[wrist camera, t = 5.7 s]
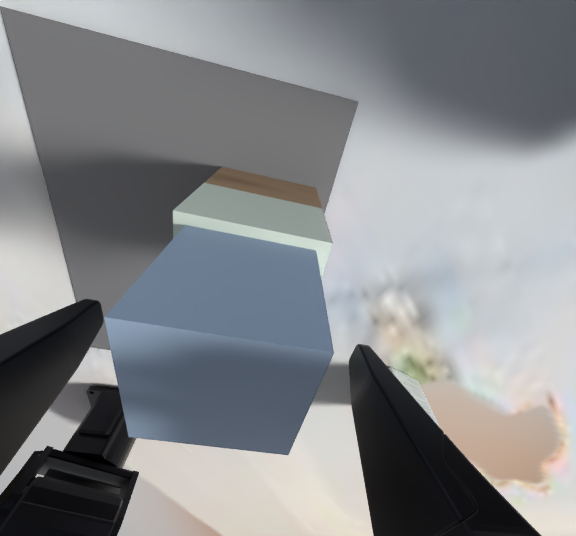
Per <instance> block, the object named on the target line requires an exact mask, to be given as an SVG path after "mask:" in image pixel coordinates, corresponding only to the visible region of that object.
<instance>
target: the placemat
mask: <svg viewBox="0 0 576 536" xmlns="http://www.w3.org/2000/svg"><path fill="white" fill-rule="evenodd" d="M0 8H1V12H2V15H3V19H4V23H5V27H6V31H7V35H8V39H9V42H10V46H11V50H12V54H13V58H14V62H15V66H16V69H17V73H18V77H19V81H20V85H21V89H22V93H23V96H24V100H25V104H26V108H27V112H28V116H29V120H30V123H31V127H32V131H33V135H34V139H35V143H36V146H37V150H38V154H39V158H40V162H41V166H42V170H43V173H44V177H45V181H46V185H47V189H48V193H49V197H50V200H51V204H52V208H53V212H54V216H55V220H56V224H57V227H58V231H59V235H60V239H61V243H62V247H63V251H64V254H65V258H66V262H67V266H68V270H69V274H70V278H71V281H72V285H73V289H74V293H75V297H76V301H77V302H79V301H81V300H84V299H91V300H97V301H99V302H100V303H101V307H102V312H103V317H105V315H106V314H107V313H108V312H109V311H110V310H111V309H112V308H113V306H114V305H115V304H116V303H117V302H118V301H119V300H120V299H121V297H122V296H123V295H124V294H125V293H126V292H127V291H128V289H129V288H130V287H131V286H132V285H133V284H134V283H135V282H136V280H137V279H138V278H139V277H140V276H141V275H142V274H143V273H144V271H145V270H146V269H147V268H148V267H149V266H150V265H151V263H152V262H153V261H154V260H155V259H156V258H157V257H158V256H159V254H160V253H161V252H162V251H163V250H164V249H165V248H166V246H167V245H168V244H169V243H170V242H171V241H172V240H173V210H174V209H175V208H176V207H177V206H178V205H180V204H181V203H182V202H183V201H184V200H185V199H186V198H187V197H189V196H190V195H191V194H192V193H193V192H194V191H195V190H197V189H198V188H199V187H200V186H201V185H202V184H203V183H204V182H206V181H207V180H208V179H209V178H210V177H211V176H212V175H213V174H215V173H216V172H217V171H218V170H219V169H220V168H221V167H227V168H231V169H235V170H240V171H244V172H249V173H253V174H257V175H262V176H266V177H271V178H275V179H279V180H284V181H288V182H293V183H297V184H302V185H306V186H310V187H315V188H316V189H317V192H318V196H319V199H320V202H321V205H322V209H323V212H324V213H325V210H326V206H327V203H328V200H329V197H330V193H331V190H332V187H333V183H334V180H335V177H336V174H337V170H338V167H339V164H340V160H341V157H342V154H343V151H344V147H345V144H346V141H347V137H348V134H349V131H350V128H351V124H352V121H353V118H354V114H355V111H356V108H357V105H358V102H357V101H354V100H350V99H346V98H342V97H339V96H335V95H331V94H327V93H324V92H320V91H316V90H312V89H309V88H305V87H301V86H297V85H294V84H290V83H286V82H282V81H279V80H275V79H271V78H267V77H264V76H260V75H256V74H252V73H249V72H245V71H241V70H237V69H234V68H230V67H226V66H222V65H219V64H215V63H211V62H207V61H204V60H200V59H196V58H192V57H189V56H185V55H181V54H177V53H174V52H170V51H166V50H162V49H159V48H155V47H151V46H147V45H144V44H140V43H136V42H132V41H128V40H125V39H121V38H117V37H113V36H110V35H106V34H102V33H98V32H95V31H91V30H87V29H83V28H80V27H76V26H72V25H68V24H65V23H61V22H57V21H53V20H50V19H46V18H42V17H38V16H35V15H31V14H27V13H23V12H20V11H16V10H12V9H8V8H5V7H1V6H0ZM90 347H93V348H100V349H107V350H111V348H110V343H109V339H108V334H107V329H106V324H105V319H104V322H103V325H102V327H101V329H100V330H99V332H98V334H97V336H96V337H95V339H94V341H93V343H92V344H91V346H90Z"/></svg>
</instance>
